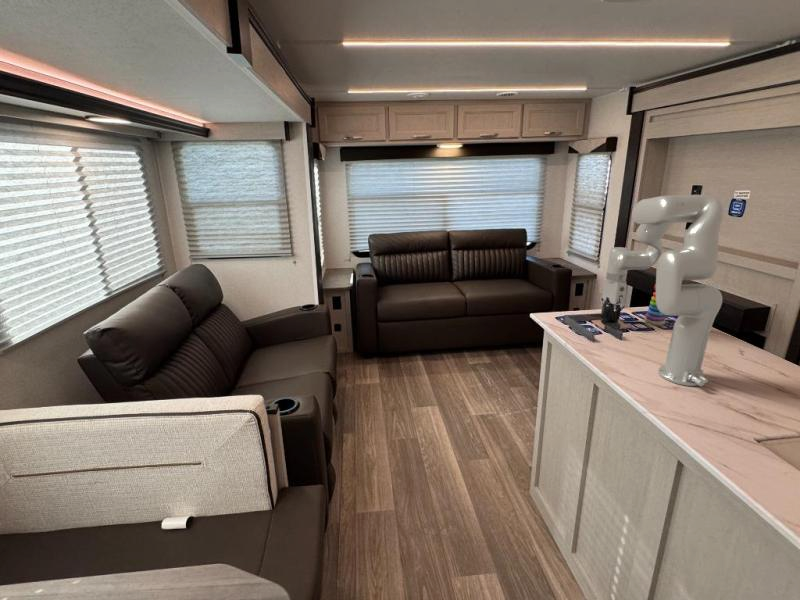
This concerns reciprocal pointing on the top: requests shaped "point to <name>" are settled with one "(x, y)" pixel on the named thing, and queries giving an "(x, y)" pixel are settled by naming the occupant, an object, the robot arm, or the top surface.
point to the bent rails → (572, 320)
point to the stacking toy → (654, 313)
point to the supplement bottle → (607, 312)
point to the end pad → (598, 322)
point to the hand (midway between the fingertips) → (609, 316)
